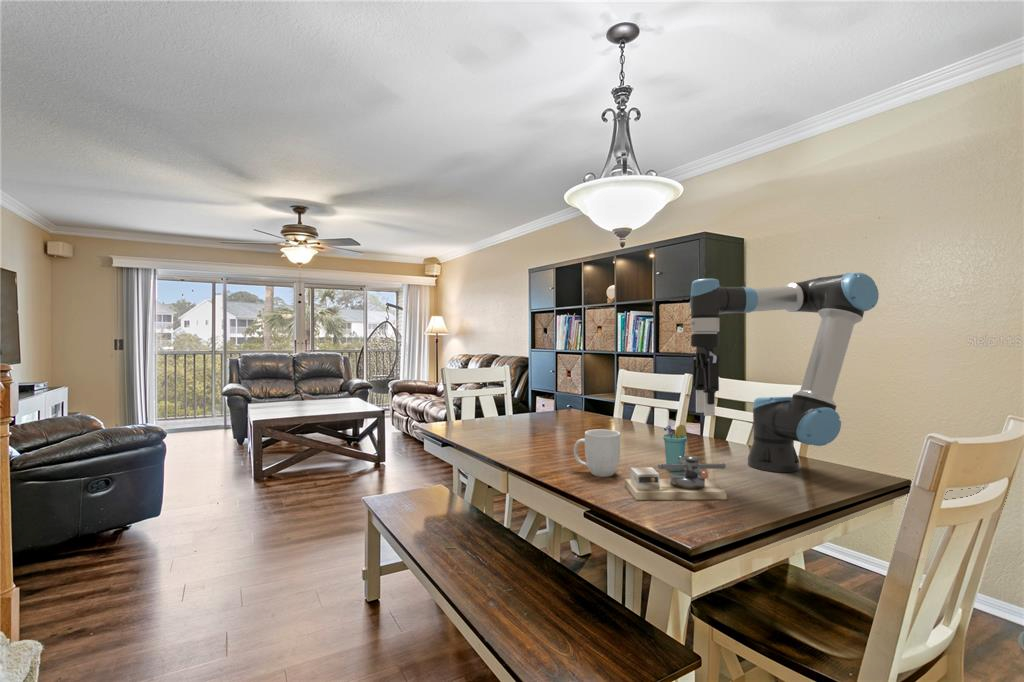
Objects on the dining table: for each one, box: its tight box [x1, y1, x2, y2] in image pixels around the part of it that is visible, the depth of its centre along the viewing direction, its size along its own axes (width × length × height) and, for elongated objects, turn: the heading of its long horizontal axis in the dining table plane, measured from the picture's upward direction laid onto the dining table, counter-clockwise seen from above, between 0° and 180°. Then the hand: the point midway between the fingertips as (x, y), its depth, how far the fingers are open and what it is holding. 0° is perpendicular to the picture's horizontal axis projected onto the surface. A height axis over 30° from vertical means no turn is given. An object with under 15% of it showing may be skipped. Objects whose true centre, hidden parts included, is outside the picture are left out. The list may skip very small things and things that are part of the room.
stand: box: [624, 466, 728, 501], centre depth 134 cm, size 24×12×6 cm, turn 91°
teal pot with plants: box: [662, 424, 688, 472], centre depth 157 cm, size 14×8×15 cm, turn 140°
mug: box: [573, 428, 621, 478], centre depth 153 cm, size 15×11×13 cm
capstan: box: [657, 454, 727, 489], centre depth 134 cm, size 19×19×7 cm
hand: (705, 413), depth 140 cm, fingers open, 5 cm apart
